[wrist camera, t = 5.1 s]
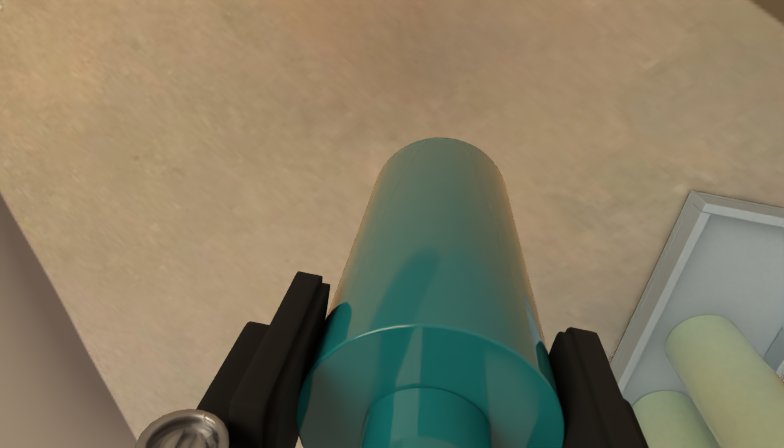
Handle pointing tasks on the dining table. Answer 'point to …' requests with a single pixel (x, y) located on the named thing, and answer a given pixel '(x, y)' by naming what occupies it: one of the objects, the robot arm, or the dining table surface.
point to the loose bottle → (433, 319)
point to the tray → (708, 289)
